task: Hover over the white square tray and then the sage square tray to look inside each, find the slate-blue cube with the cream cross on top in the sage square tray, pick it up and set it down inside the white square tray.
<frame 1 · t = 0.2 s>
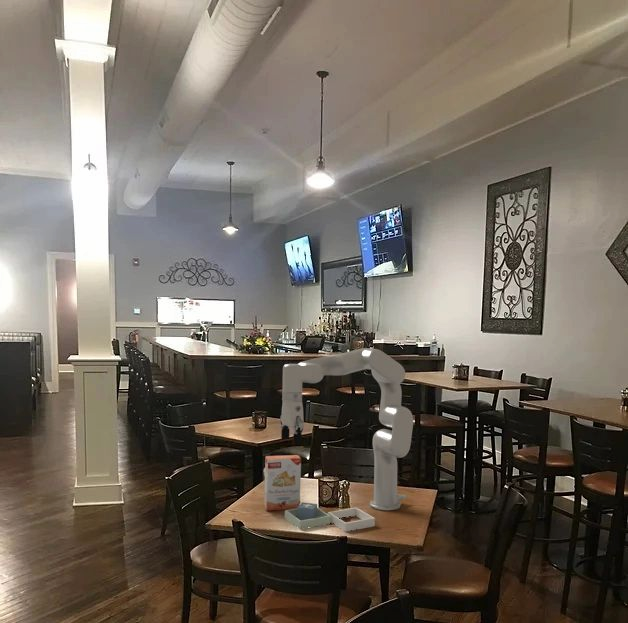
hand: (291, 441, 210), 31 cm above the table, tool pointing down, fingers open, 9 cm apart
coffee cup: (273, 496, 240), on the table
cracker box: (282, 508, 226), on the table
sage square tray: (307, 521, 211), on the table
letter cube: (307, 513, 211), in the sage square tray
white square tray: (350, 523, 210), on the table
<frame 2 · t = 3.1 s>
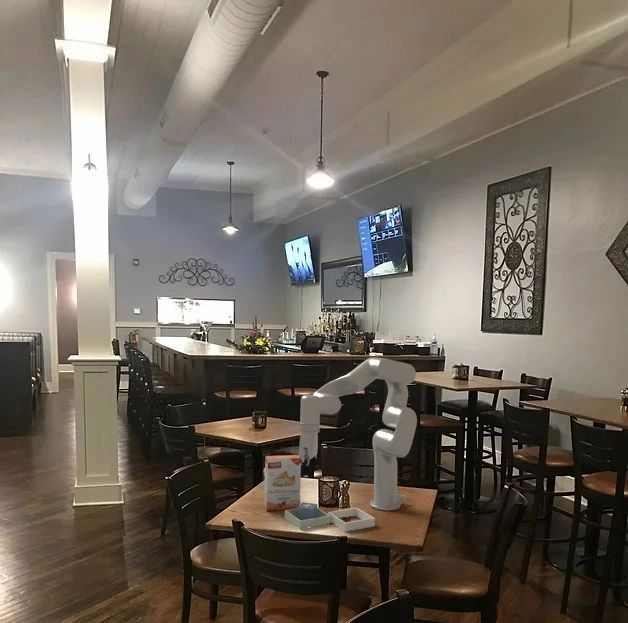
hand: (308, 472, 212), 19 cm above the table, tool pointing down, fingers open, 9 cm apart
nothing on the table moved.
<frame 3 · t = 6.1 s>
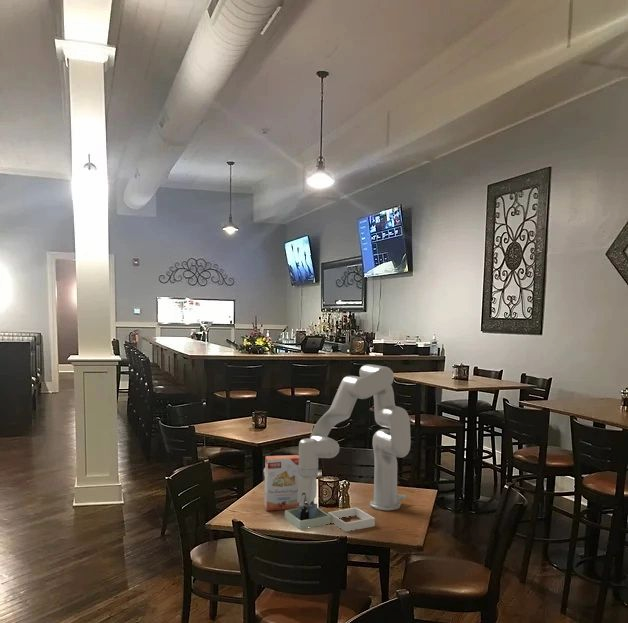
hand: (307, 518, 211), 1 cm above the table, tool pointing down, fingers closed on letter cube, 6 cm apart
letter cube: (307, 513, 211), in the sage square tray, touching gripper
everything else where it was.
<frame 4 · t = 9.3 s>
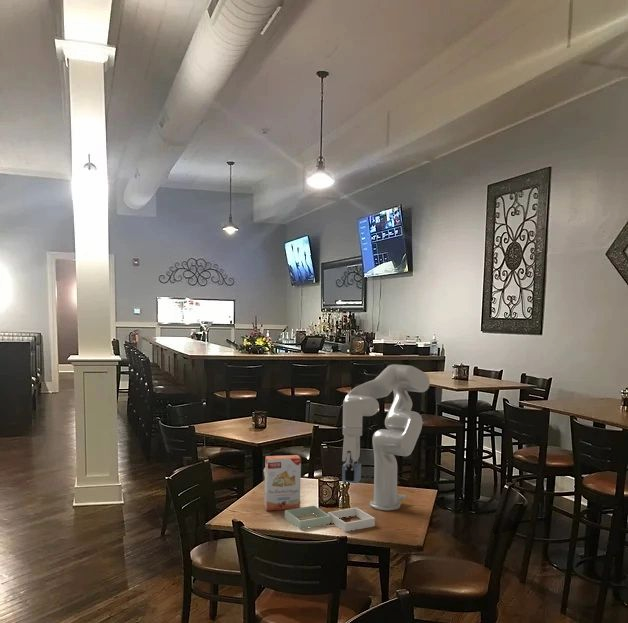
hand: (351, 477, 210), 17 cm above the table, tool pointing down, fingers closed on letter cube, 6 cm apart
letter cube: (351, 472, 210), point 19 cm above the table, touching gripper
everything else where it was.
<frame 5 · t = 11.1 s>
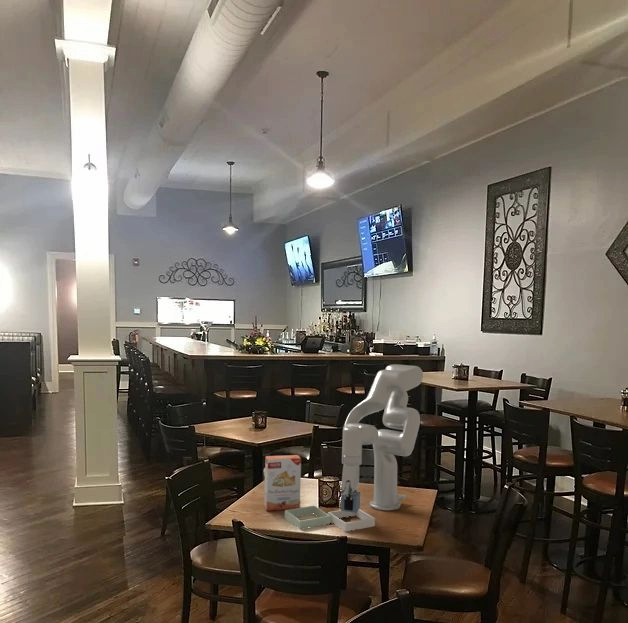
hand: (350, 506, 210), 6 cm above the table, tool pointing down, fingers closed on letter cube, 6 cm apart
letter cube: (350, 501, 210), point 8 cm above the table, touching gripper
everything else where it was.
when the fingers open (2 cm above the table, at t = 12.4 s): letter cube drops 1 cm, resting in white square tray.
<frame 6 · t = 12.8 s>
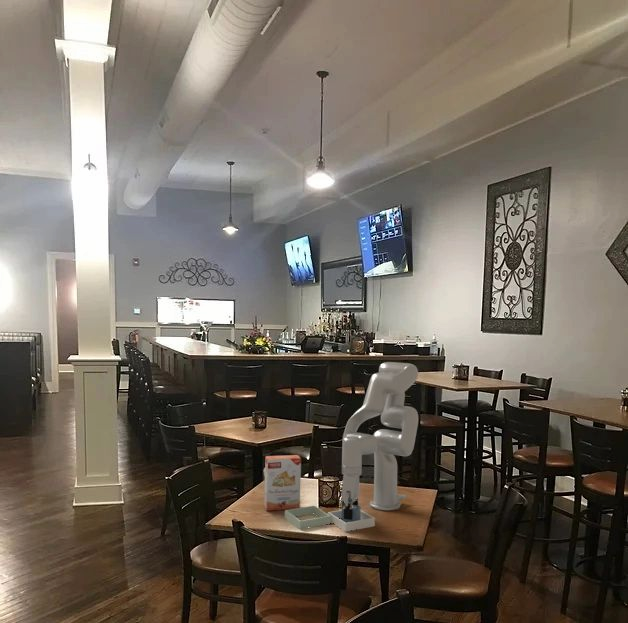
hand: (351, 514, 210), 3 cm above the table, tool pointing down, fingers open, 9 cm apart
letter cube: (351, 515, 210), in the white square tray
everything else where it was.
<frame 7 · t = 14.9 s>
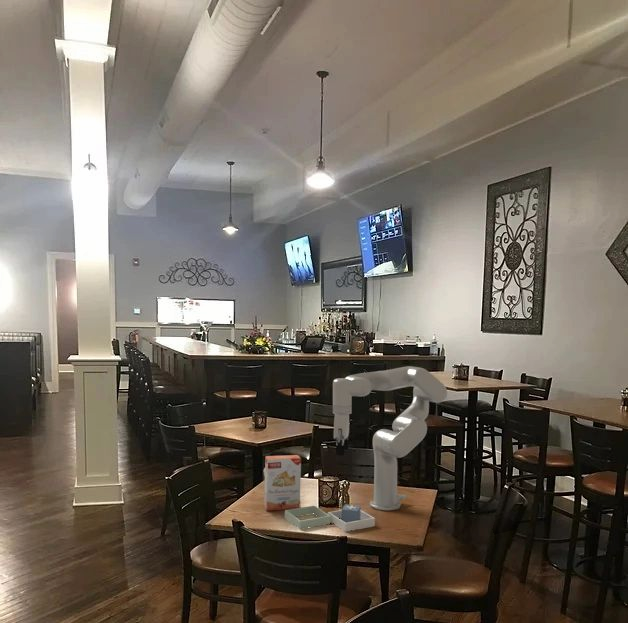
hand: (342, 452, 221), 24 cm above the table, tool pointing down, fingers open, 9 cm apart
nothing on the table moved.
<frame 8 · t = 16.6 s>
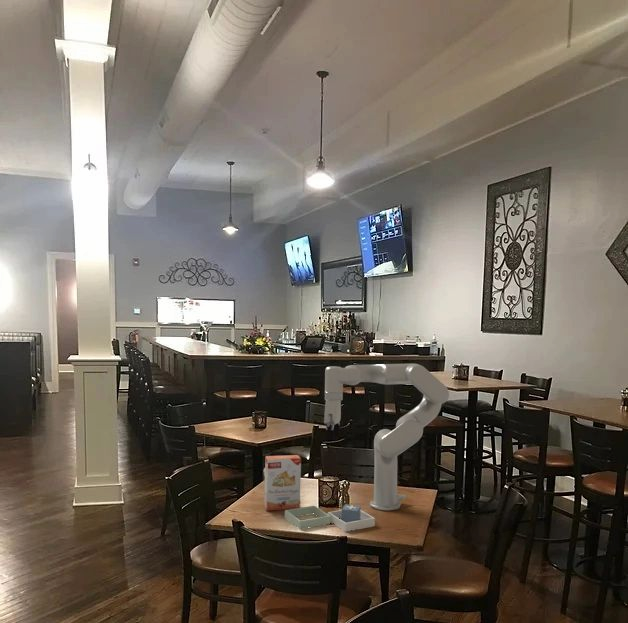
hand: (332, 437, 230), 28 cm above the table, tool pointing down, fingers open, 9 cm apart
nothing on the table moved.
at the end: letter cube inside the target area on the white square tray (0.0 cm from its centre), point 2.9 cm above the white square tray's base; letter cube tilted 0°; the gripper is holding nothing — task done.
